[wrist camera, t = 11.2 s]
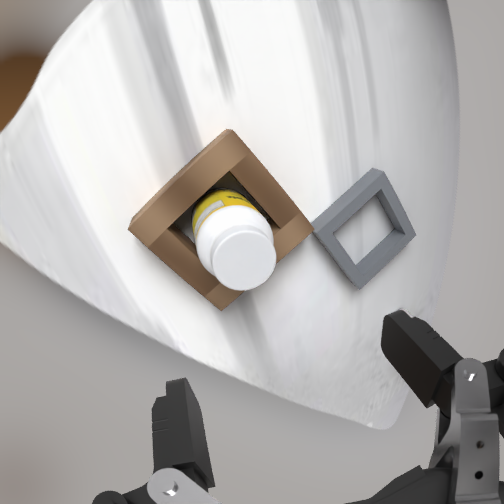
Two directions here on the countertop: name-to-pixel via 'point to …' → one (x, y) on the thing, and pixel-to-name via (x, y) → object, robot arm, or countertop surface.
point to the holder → (352, 203)
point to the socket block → (192, 188)
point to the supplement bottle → (233, 239)
